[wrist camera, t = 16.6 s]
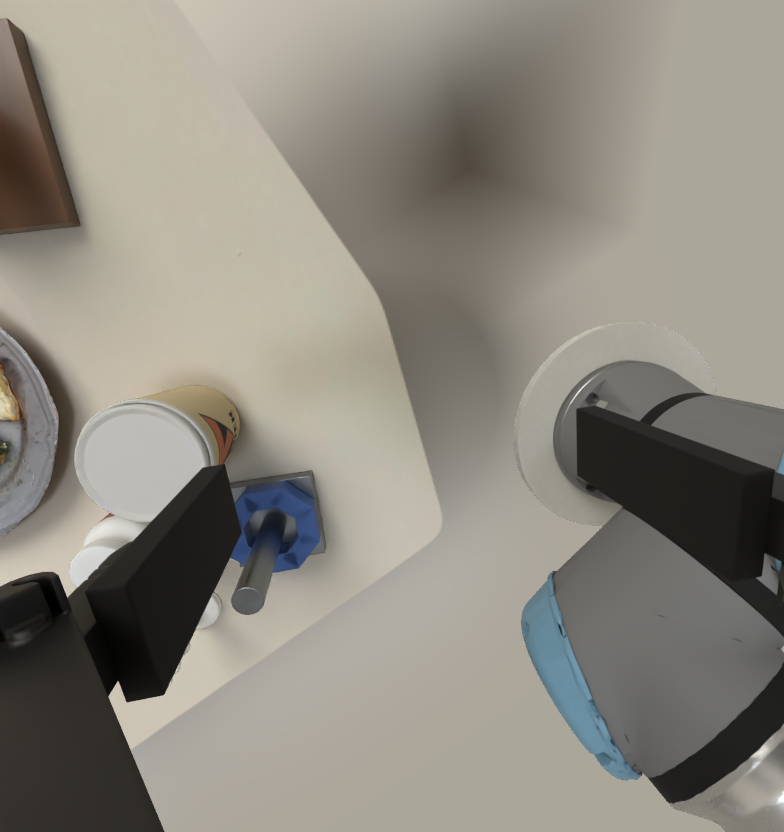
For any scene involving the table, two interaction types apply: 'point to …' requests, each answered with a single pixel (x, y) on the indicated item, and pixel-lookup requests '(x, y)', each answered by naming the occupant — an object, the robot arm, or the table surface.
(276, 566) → the ring
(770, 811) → the robot arm
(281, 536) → the post
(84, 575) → the pill bottle
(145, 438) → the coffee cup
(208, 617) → the chess piece
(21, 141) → the brown square peg stand
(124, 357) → the table surface
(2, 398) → the food plate
